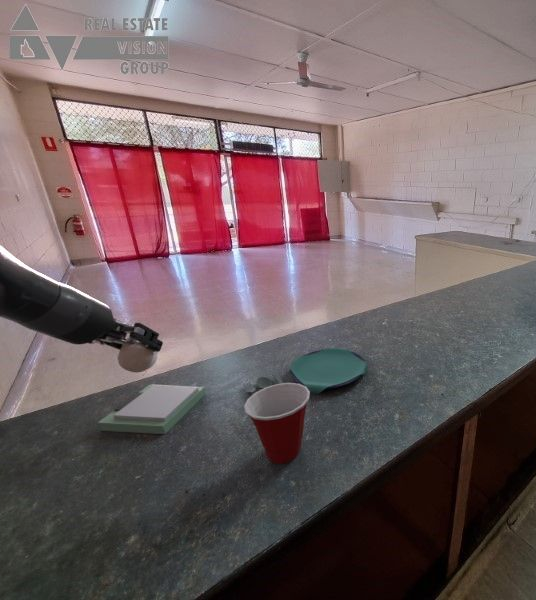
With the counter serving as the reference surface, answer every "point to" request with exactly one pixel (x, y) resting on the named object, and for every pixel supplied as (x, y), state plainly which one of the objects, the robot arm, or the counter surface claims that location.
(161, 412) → the scale
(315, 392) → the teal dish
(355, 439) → the counter surface
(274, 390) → the plastic cup
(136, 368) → the garlic bulb
